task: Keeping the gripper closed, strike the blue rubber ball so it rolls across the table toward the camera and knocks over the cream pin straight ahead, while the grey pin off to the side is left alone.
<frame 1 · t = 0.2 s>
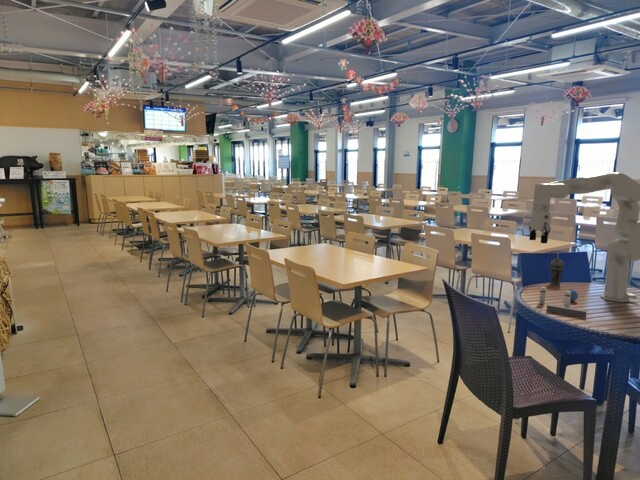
hand: (538, 241, 220), 31 cm above the table, tool pointing down, fingers open, 9 cm apart
ball: (571, 295, 222), on the table
cream pin: (566, 308, 211), on the table
back wall: (565, 314, 201), on the table
grey pin: (541, 303, 217), on the table
beverage cup: (555, 284, 257), on the table
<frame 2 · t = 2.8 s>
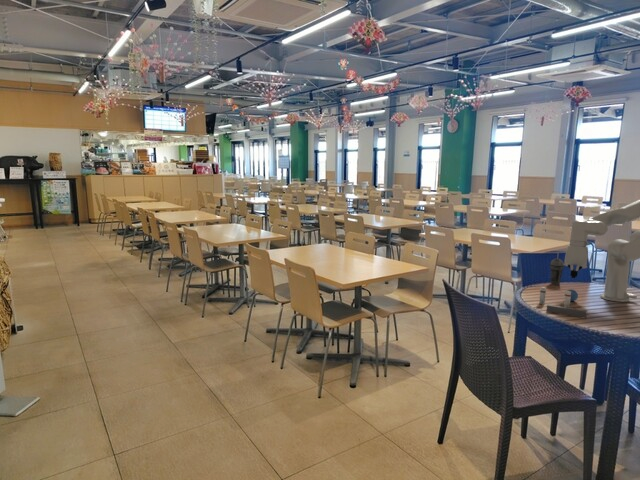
hand: (573, 277, 229), 11 cm above the table, tool pointing down, fingers closed
nothing on the table moved.
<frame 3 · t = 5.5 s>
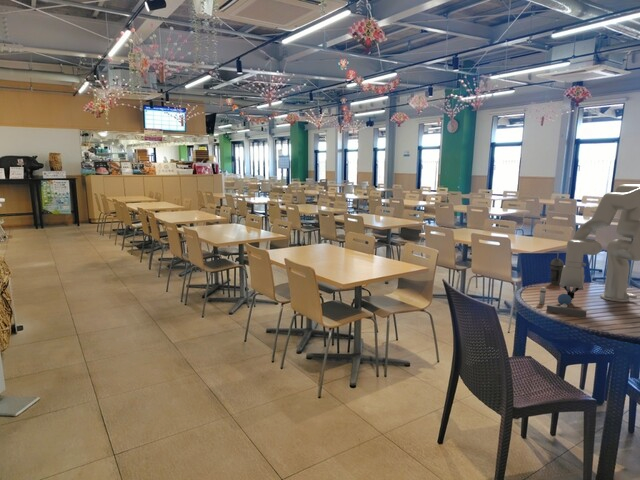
hand: (570, 299, 220), 2 cm above the table, tool pointing down, fingers closed
ball: (564, 299, 214), on the table
cream pin: (564, 306, 210), point 1 cm above the table, tilted 90°
everything else where it was.
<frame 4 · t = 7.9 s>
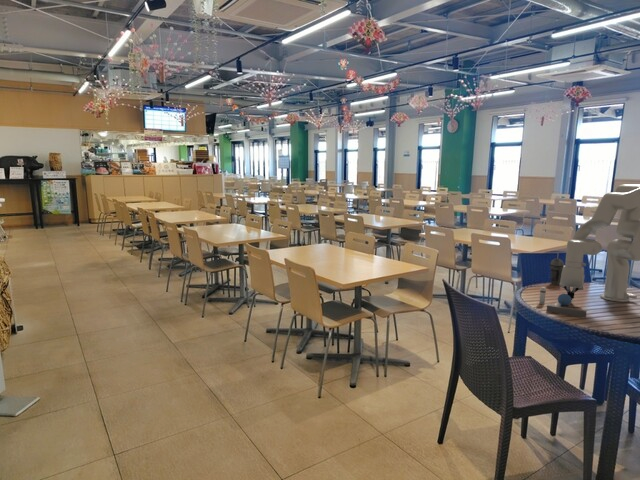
hand: (570, 299, 220), 2 cm above the table, tool pointing down, fingers closed
cream pin: (558, 304, 212), point 1 cm above the table, tilted 90°
everything else where it was.
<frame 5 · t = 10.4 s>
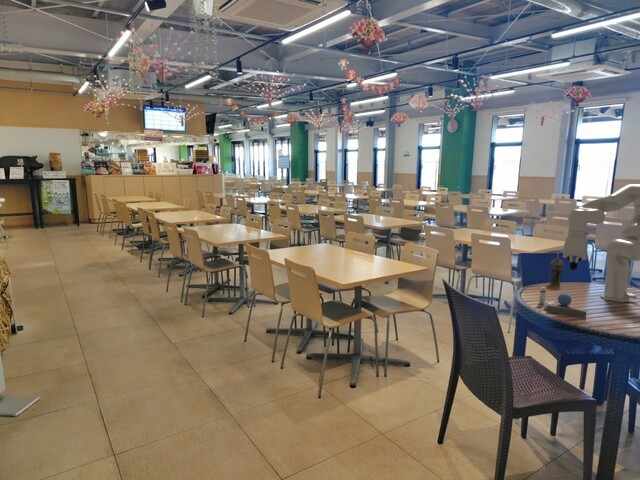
hand: (573, 269, 217), 17 cm above the table, tool pointing down, fingers closed
cream pin: (552, 303, 214), point 1 cm above the table, tilted 90°
everything else where it was.
at the end: cream pin tilted 90°; cream pin never touched the robot; ball moved 11.2 cm from its start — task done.
